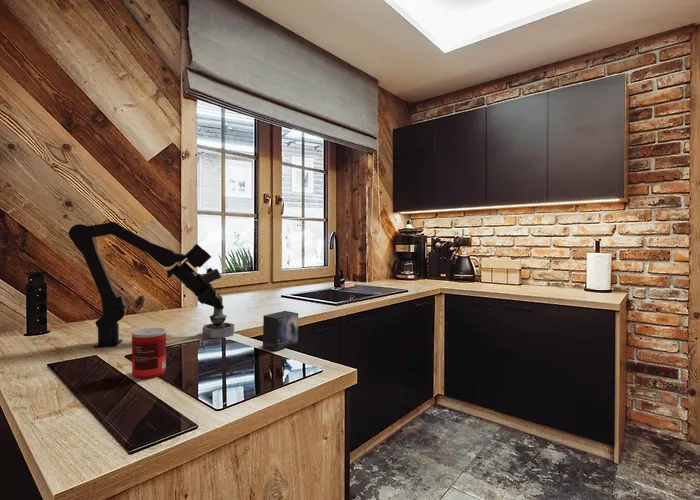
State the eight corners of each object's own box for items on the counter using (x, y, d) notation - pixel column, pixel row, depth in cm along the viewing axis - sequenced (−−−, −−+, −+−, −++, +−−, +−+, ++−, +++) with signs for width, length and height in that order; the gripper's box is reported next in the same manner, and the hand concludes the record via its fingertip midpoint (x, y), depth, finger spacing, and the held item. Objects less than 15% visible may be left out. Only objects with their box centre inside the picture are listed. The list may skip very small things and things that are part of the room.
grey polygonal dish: (232, 337, 133) (232, 328, 133) (201, 338, 131) (201, 330, 131) (234, 330, 143) (234, 322, 143) (205, 331, 141) (205, 323, 141)
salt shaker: (216, 329, 133) (217, 294, 132) (205, 326, 136) (206, 293, 136) (230, 325, 138) (230, 292, 138) (219, 323, 141) (219, 291, 141)
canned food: (157, 366, 103) (157, 326, 102) (171, 373, 98) (171, 330, 97) (126, 374, 97) (126, 331, 96) (140, 382, 92) (139, 336, 91)
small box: (277, 351, 117) (277, 317, 117) (261, 348, 121) (261, 315, 120) (299, 343, 126) (299, 312, 126) (284, 340, 130) (284, 310, 129)
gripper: (209, 262, 126) (243, 294, 131) (204, 259, 143) (234, 288, 148) (183, 287, 123) (218, 319, 128) (181, 281, 140) (213, 309, 145)
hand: (222, 307), depth 137 cm, fingers closed on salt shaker, 4 cm apart
